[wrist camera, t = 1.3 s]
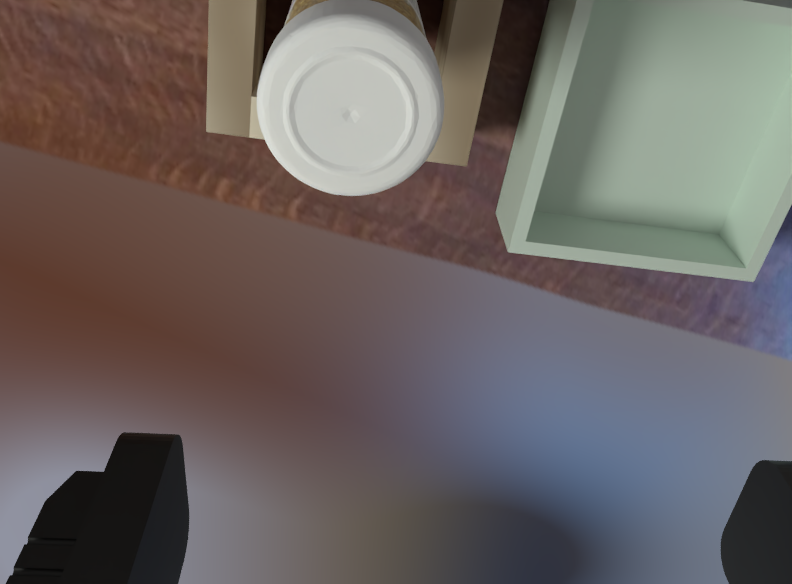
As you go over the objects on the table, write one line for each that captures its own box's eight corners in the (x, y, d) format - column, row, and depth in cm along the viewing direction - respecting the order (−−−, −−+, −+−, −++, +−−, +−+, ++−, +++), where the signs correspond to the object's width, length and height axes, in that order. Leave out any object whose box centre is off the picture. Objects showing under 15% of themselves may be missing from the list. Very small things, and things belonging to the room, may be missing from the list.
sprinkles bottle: (293, -72, 28) (244, 14, 16) (416, -72, 28) (451, 15, 17) (300, 53, 30) (262, 203, 19) (414, 53, 30) (442, 201, 19)
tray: (495, 212, 34) (507, 252, 31) (560, -45, 29) (583, -26, 26) (721, 241, 36) (753, 281, 33) (828, 0, 30) (880, 23, 27)
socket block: (221, 100, 31) (206, 131, 28) (230, -182, 26) (212, -180, 23) (457, 133, 32) (466, 166, 29) (512, -131, 27) (530, -122, 24)
